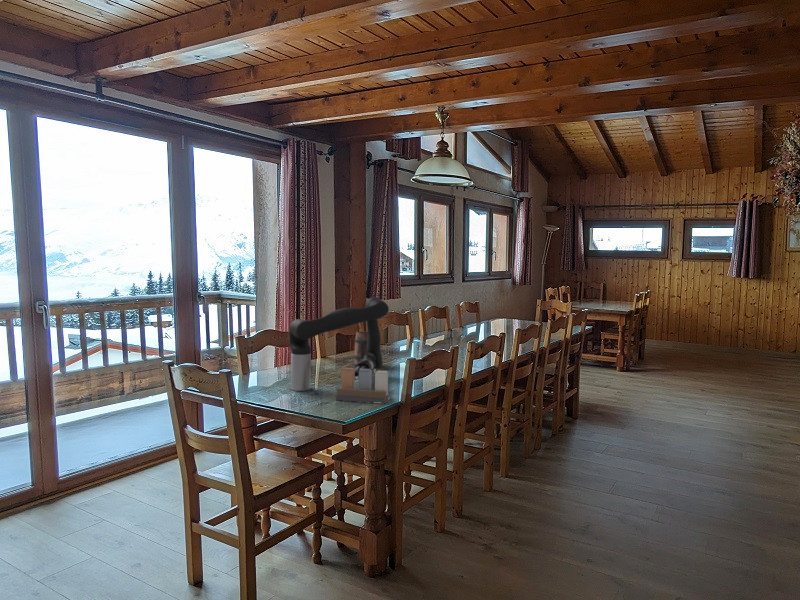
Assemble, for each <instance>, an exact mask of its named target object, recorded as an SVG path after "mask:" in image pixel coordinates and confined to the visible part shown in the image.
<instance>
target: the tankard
mask: <svg viewBox="0 0 800 600" xmlns="http://www.w3.org/2000/svg"><path fill="white" fill-rule="evenodd" d="M367 338H368V331H356V332H355V338H354V354H353V361H352V362H351V364H350V365H352V366H356V365H357V363H359V362H360V361H362V360H363V358H364V356H365V355H366V354H370V355H374V354H372V353H370V352H368V351H367Z"/></svg>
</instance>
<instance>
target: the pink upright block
mask: <svg viewBox="0 0 800 600" xmlns="http://www.w3.org/2000/svg"><path fill="white" fill-rule="evenodd" d="M355 378H356V376H355V369H354V368H352V367H351V368H348V367H343V368H342V370H341V384H340V385H341V387H340V388H349V389H355V385H356V384H355V381H356V380H355Z"/></svg>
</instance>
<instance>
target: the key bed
mask: <svg viewBox="0 0 800 600" xmlns="http://www.w3.org/2000/svg"><path fill="white" fill-rule="evenodd" d="M335 396H336V397H335V400H336V401H338V400H343V401H342V402H351V401H361V402H360V403H363V402H381V403H385V402H386V401H387V400H388V398H389V397H390V398H391V392H388V395H387V396H386V391H377V390H375V389H371V390H363V389H359V388H354V389H349V388H341V387H337V389H336V395H335ZM390 398H389V399H390ZM388 401H389V400H388ZM388 401H387V402H388ZM387 402H386V403H387ZM386 403H385V404H386Z"/></svg>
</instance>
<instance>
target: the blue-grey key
mask: <svg viewBox="0 0 800 600" xmlns="http://www.w3.org/2000/svg"><path fill="white" fill-rule="evenodd" d="M372 371H373V370H371V369H360V370H359V376H358V389H363V390H372V385H373V384H372V380H373V378H372V376H373V372H372Z"/></svg>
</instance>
